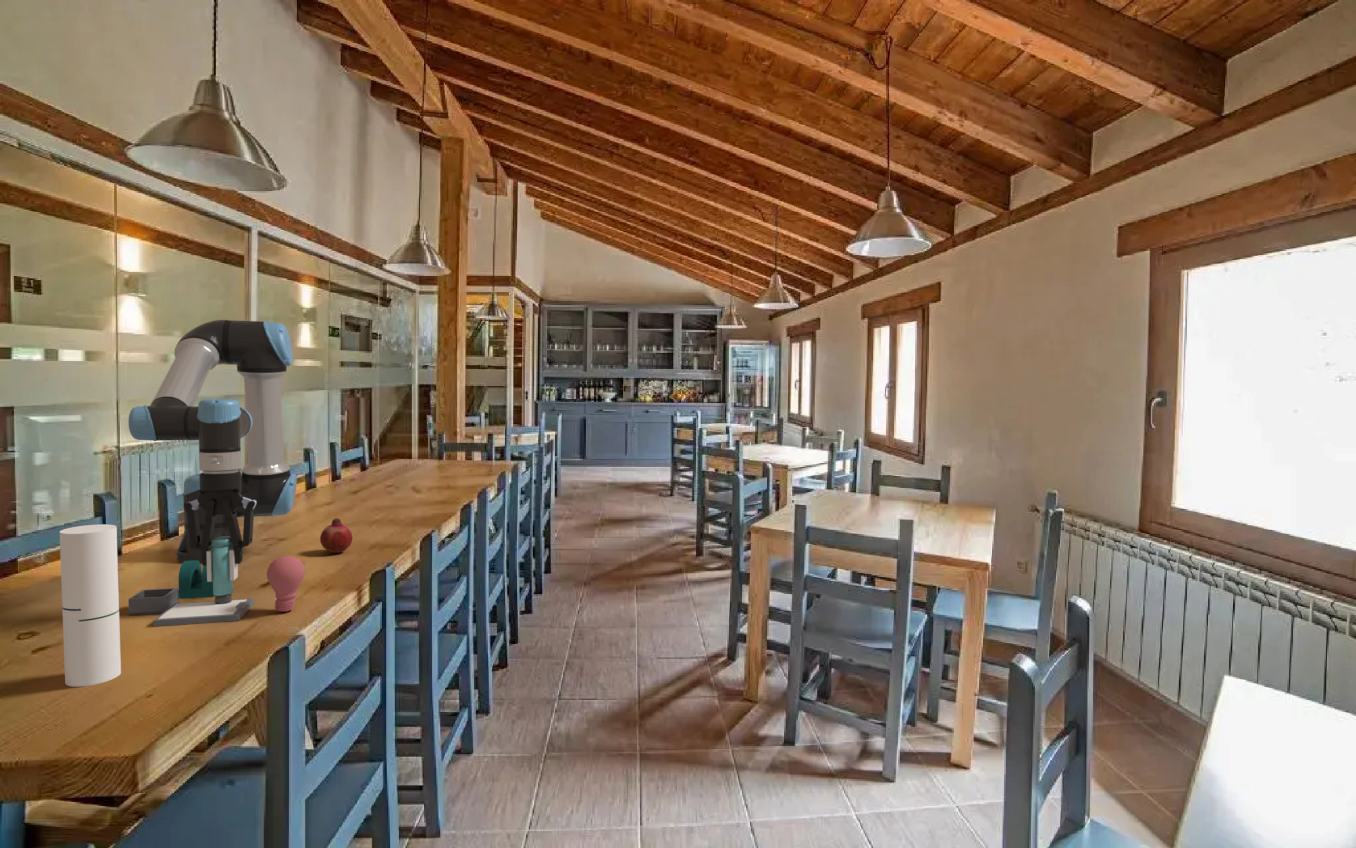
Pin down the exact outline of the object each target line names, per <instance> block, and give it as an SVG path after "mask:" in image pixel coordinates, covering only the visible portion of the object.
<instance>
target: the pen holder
mask: <svg viewBox="0 0 1356 848" xmlns="http://www.w3.org/2000/svg"><path fill="white" fill-rule="evenodd" d="M175 603H179V587H170V588H167V587H165V588H151V589H141V590H140V591H138V592H137V593H135V594H134V595H132V596H131V597H129V598H128V616H130V617H132V616H142V615H143V616H145V615H158V614H159V615H161V614H162V613H163V612H165V611H166V610H167V609H168V608H170V607H171V606H172V605H174V604H175Z"/></svg>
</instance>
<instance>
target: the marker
mask: <svg viewBox="0 0 1356 848" xmlns="http://www.w3.org/2000/svg"><path fill="white" fill-rule="evenodd" d="M211 546H212V567H213V595H215V596H214V601H215V604H227V603H230V602H231V601H232V600H233V598H232V594H233V592H234V582H233V581H234V580H231V581H230V560H229V551H230V550H231V549H232V540H231V537H230V536H222V537H215V538H212V539H211Z"/></svg>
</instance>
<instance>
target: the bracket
mask: <svg viewBox="0 0 1356 848" xmlns="http://www.w3.org/2000/svg"><path fill="white" fill-rule="evenodd" d="M201 565H202V563H200V562H199V561H198V560H194V561H184V562H181V565H180V567H179V570H178V571H179V572H178V600H183V599H201V598H202V599H203V598H215V595H213V581H211V582H207V565H206V566H203V565H202V566H201Z"/></svg>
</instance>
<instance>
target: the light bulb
mask: <svg viewBox="0 0 1356 848" xmlns="http://www.w3.org/2000/svg"><path fill="white" fill-rule="evenodd" d="M267 567H268V568H267V570H266V579H267V581H268V583H269V585H270V587H271V588H272V589H273V591H274V592H275V601H274V603H275V604H274V609H275V611H277V612H285V613H286V612H288V611H291V610H293V609H295V603H296V597H297V595H298V589H299V588H300V586H301V584H302V582H303V580H304V577H305V574H306V568H305V565H304V563H303V562H302V560H301V559H299V558H298V557H295V556H293V555H282V556H280V557H277V558H275V559H274V560H273V561H272V562H271V563H270V564H269V566H267Z"/></svg>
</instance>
